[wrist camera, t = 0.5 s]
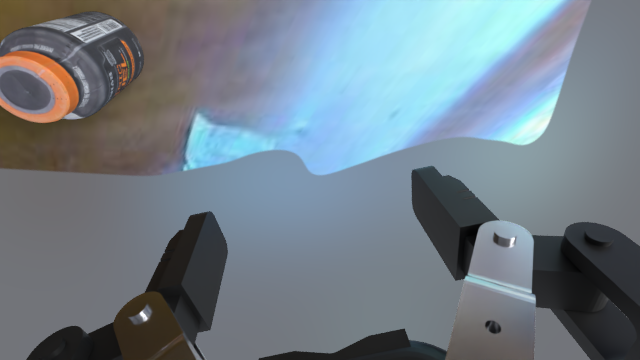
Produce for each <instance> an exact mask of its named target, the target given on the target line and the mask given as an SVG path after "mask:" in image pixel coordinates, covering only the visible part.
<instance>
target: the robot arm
mask: <svg viewBox="0 0 640 360" xmlns="http://www.w3.org/2000/svg"><path fill="white" fill-rule="evenodd" d="M412 205H413V210H414V213H415V215H416V217H417V219H418V220H419V222H420V223H421V225H422V227H423V229H424V230H425V232H426V233H427V235H428V237H429V238H430V240H431V241H432V243H433V245H434V246H435V248H436V250H437V251H438V253H439V255H440V256H441V258H442V259H443V261H444V263H445V264H446V266H447V268H448V269H449V271H450V272H451V274H452V276H453V277H454V279H455V280H461V279H465V281H464V285H463V289H462V293H461V297H460V301H459V305H458V309H457V313H456V317H455V321H454V325H453V330H452V334H451V338H450V342H449V346H448V350H447V351H445V350H443V349H441V348H439V347H436V346H434V345H431V344H427V343H424V342H419V341H411V340H408V337H407V334H406V331H405V329H400V330H396V331H390V332H386V333H381V334H376V335H371V336H368V337H366V338H364V339H362V340H360V341H358V342H356V343H354V344H352V345H350V346H348V347H346V348H344V349H342V350H340V351H338V352H335V353H331V354H328V353H314V352H299V351H298V352H297V351H293V352H288V353H283V354H278V355H273V356H269V357H264V358H259V360H534V348H535V311H536V307H541V308H550V309H551V310H552V311H553V313H554V314H555V315H556V316H557V318H558V319H559V320H560V321H561V323H562V324H563V325H564V326H565V328H566V329H567V330H568V332H569V333H570V334H571V335H572V337H573V338H574V339H575V340H576V342H577V343H578V344H579V346H580V347H581V348H582V349H583V351H584V352H585V353H586V354H587V356H588V357H589V358H590V359H591V360H640V246H639V245H637V244H636V243H635V242H633V241H632V240H631V239H629V238H628V237H626V236H625V235H624V234H622V233H621V232H619V231H617V230H615V229H613V228H610V227H608V226H604V225H601V224H597V223H589V222H580V223H574V224H572V225H570V226H568V227H567V228H566V230H565V233H564V236H536V235H531V234H530V233H529V232H528V231H527V230H526V229H525V228H523V227H521V226H519V225H517V224H515V223H512V222H507V221H500V220H499V219H498V218H497V217H496V216H495V215H494V214H493V213H492V212H491V211H490V210H489V209H488V208H487V207H486V206H485V205H484V204H483V203H482V202H481V201H480V200H479V199H478V198H477V197H475V195H474V194H473V193H472V192H471V191H469V189H468V188H467V187H466V186H465V185H464V184H463V183H462V182H461V181H460V180H458V179H456V178H453V177H451V176H449V175H448V176H442V175H441V174H440V173H439V172H438V171H437V170H436V169H435V167H433V166H428V167H423V168H419V169H414V170H413V171H412ZM227 253H228V250H227V243H226V240H225V238H224V236H223V233H222V232H221V229H220V227H219V225H218V223H217V221H216V218H215V216H214V215H213V213H212V212H210V211H209V212H204V213H200V214H195V215H191V216H190V217H189V219H188V221H187V223H186V226H185V228H184V230H179V232H178V233H177V234H176V235H175V236H174V237H173V238H172V239H171V240H170V241H169V243H168V246H167V247H166V250H165V253H164V254H163V256H162V258H161V262H159V264H158V266H157V268H156V270H155V272H154V275H153V277H152V279H151V281H150V283H149V285H148V287H147V289H146V291H145V293H143V294H141V295H139V296H137V297H135V298H133V299H132V300H131V301H129V302H128V303H127V304H126V305H125V306H124V307H123V308H122V309H121V310H120V311H119V313H118V314H117V315H116V317H115V320H114V322H113V323H111V324H108V325H106V326H104V327H102V328H100V329H98V330H96V331H93V332H91V333H89V334H87V333H86V332H84V331H83V330H82V329H81V328H80V327H78V326H70V327H66V328H64V329H61V330H59V331H57V332H55V333H53V334H52V335H51V336H49V337H47V338H46V339H45V340H44V341H42V342H41V343H40V344H39V345H38V346H37V347H36V348H35V349H34V350H33V351H32V352H31V354H30V355H29V357H28V358H27V360H206V359H205V357H204V355H203V354H202V352H201V350H200V349H199V347H198V345H197V344H196V343H195V340H196V336H197V333H198V332H203V331H208V330H210V329H211V325H212V320H213V316H214V312H215V307H216V303H217V298H218V294H219V290H220V285H221V281H222V276H223V272H224V268H225V263H226V259H227ZM613 303H614V304H615V305H616V306H617V307H618V308H619V309H620V310H621V311H622V312H623V313H624V314H625V315H626V316H627V317H628V318H627V317H626V316H625V315H624V314H623V313H622V312H621V311H620V310H619V309H618V308H617V307H616V306H615V305H614V304H613Z"/></svg>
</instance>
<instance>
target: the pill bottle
mask: <svg viewBox="0 0 640 360" xmlns="http://www.w3.org/2000/svg"><path fill="white" fill-rule="evenodd" d="M143 64H144V56H143V51H142V48H141V46H140V43H139V41H138V39H137V38H136V36H135V35H134V34H133V32H132V31H131V30H130V29H129V28H128V27H127V26H126V25H125V24H123V23H122V22H121V21H119V20H118V19H116V18H114V17H112V16H110V15H107V14H104V13H100V12H84V13H80V14H76V15H72V16H68V17H65V18H61V19H57V20H53V21H49V22H45V23H41V24H38V25H34V26H30V27H26V28H22V29H18V30H16V31H14V32H12V33H10V34H9V35H8V36H6V37H5V38H4V39H3V40H2V42H1V44H0V105H1V106H2V107H3V108H4V109H6V110H7V111H9V112H10V113H12V114H14V115H16V116H18V117H20V118H22V119H25V120H28V121H31V122H37V123H50V122H55V121H58V120H60V119H80V118H84V117H88V116H91V115H93V114H94V113H96V112H97V111H99V110H100V109H101V108H102V107H103V106H105V104H107V103H108V102H109V101H110V100H111V99H112V98H113V97H115V96H116V95H117V94H118V93H119V92H120V91H121V90H123V89H124V88H125V87H126V86H127V85H128V84H129V83H131V82H132V81H133V80H134V79H135V78H136V77H137V76H138V75H139V74H140V72H141V70H142V68H143Z"/></svg>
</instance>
